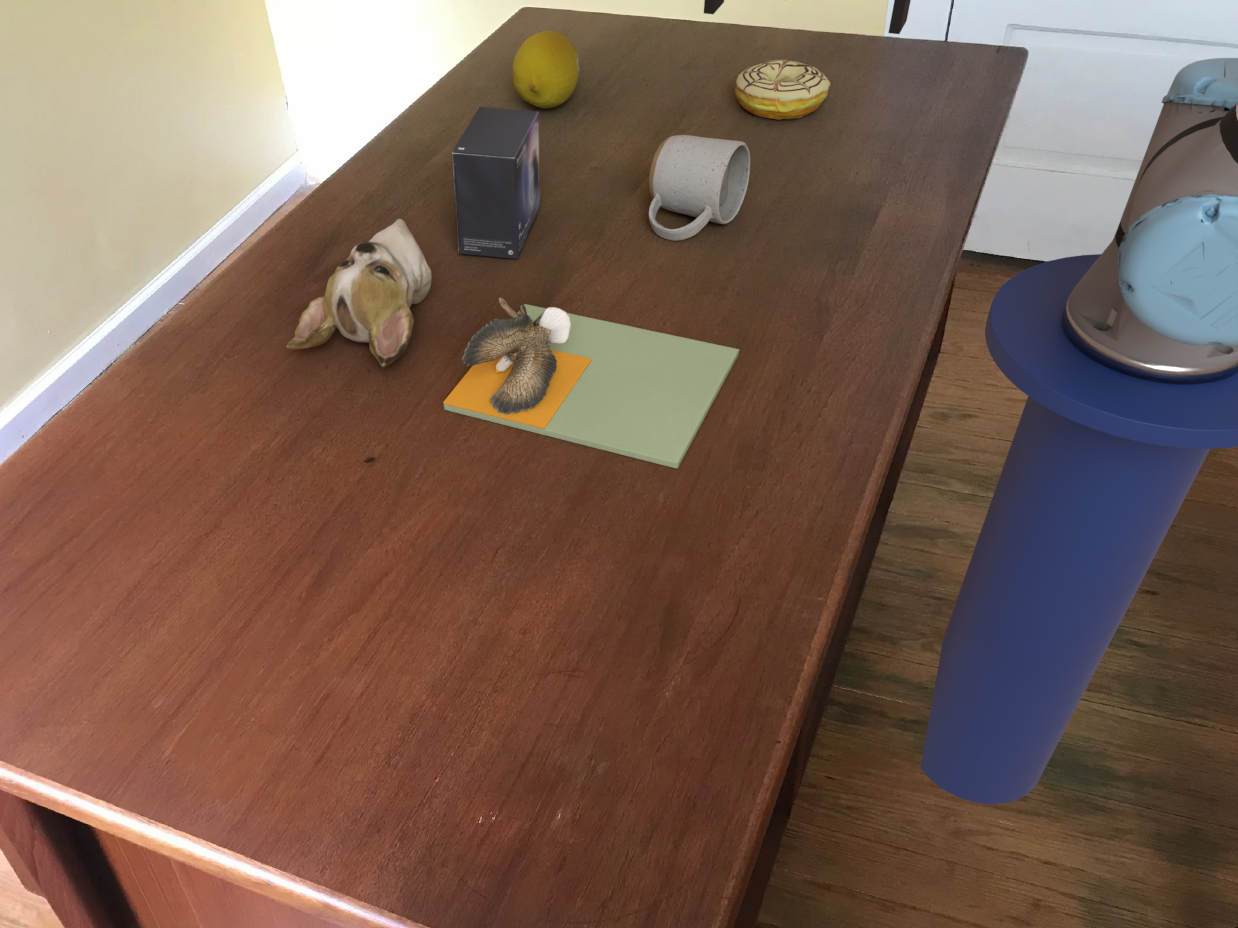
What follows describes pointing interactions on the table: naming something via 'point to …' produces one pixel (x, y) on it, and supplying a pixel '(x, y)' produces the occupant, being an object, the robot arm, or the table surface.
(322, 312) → the ceramic sculpture
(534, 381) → the eagle figurine
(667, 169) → the ceramic mug
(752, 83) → the decorated donut
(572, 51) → the lemon
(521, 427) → the corner mat
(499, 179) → the small box
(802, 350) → the table surface
